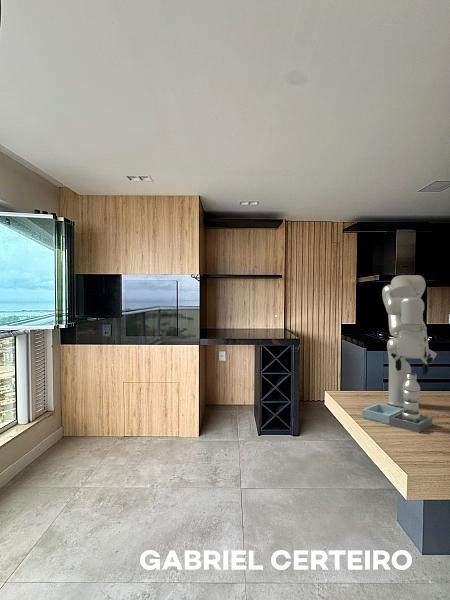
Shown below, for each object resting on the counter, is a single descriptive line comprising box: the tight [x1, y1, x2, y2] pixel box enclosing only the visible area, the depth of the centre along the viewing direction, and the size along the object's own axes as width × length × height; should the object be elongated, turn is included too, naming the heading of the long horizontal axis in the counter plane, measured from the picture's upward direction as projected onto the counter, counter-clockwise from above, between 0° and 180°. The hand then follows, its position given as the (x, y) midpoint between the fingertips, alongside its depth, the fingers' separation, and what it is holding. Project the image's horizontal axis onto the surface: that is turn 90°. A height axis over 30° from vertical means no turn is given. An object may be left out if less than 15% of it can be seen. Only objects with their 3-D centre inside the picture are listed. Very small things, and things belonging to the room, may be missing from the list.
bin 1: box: [361, 403, 403, 426], centre depth 147 cm, size 14×11×4 cm
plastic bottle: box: [402, 372, 421, 423], centre depth 139 cm, size 6×7×20 cm
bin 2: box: [388, 411, 433, 434], centre depth 139 cm, size 14×11×3 cm
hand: (411, 372), depth 139 cm, fingers open, 9 cm apart
